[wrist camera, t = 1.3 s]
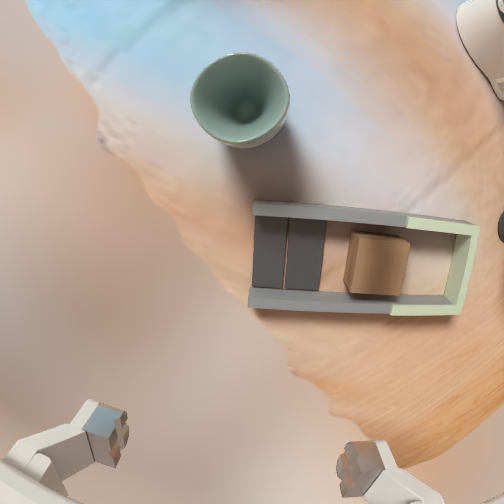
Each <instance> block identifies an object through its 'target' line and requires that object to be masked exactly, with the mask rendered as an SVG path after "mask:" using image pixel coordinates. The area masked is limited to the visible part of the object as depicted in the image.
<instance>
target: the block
mask: <svg viewBox="0 0 504 504" xmlns="http://www.w3.org/2000/svg"><path fill="white" fill-rule="evenodd" d="M410 245H411V244H410V243H409V242H407V241H406V240H404V239H402V238H401V237H399V236H395V235H387V234H378V233H370V232H361V231H352V230H351V235H350V242H349V248H348V255H347V261H346V267H345V273H344V279H343V281H344V282H345V284H346V286H347V288H348V289H349V291H350V293H363V294H378V295H395V296H400V292H401V288H402V283H403V279H404V275H405V270H406V265H407V260H408V255H409V250H410Z"/></svg>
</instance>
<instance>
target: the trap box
mask: <svg viewBox="0 0 504 504" xmlns="http://www.w3.org/2000/svg"><path fill="white" fill-rule="evenodd" d="M252 215H255V234H254V254H253V274H252V286H259V287H274V288H282V282H283V270H284V257H285V244H286V231H287V217H290V225H289V238H288V251H287V264H286V275H285V287H284V288H290V289H308V290H318V289H319V281H320V273H321V265H322V256H323V247H324V237H325V227H326V220H331V221H343V222H355V223H366V224H377V225H387V226H397V227H406V228H410V229H419V230H428V231H437V232H446V233H454V234H456V240H455V245H454V251H453V256H452V261H451V266H450V270H449V275H448V279H447V284H446V288H445V292H444V296H441V295H400V296H395V295H378V294H363V293H340V292H319V291H301V290H284V289H268V288H253V287H250V291H249V296H248V308H262V309H277V310H294V311H314V312H339V313H379V314H390V315H391V316H425V315H460V313H461V310H462V306H463V303H464V299H465V296H466V292H467V288H468V284H469V280H470V276H471V272H472V267H473V263H474V258H475V253H476V248H477V243H478V237H479V231H480V226H477V225H474V224H472V223H469V222H466V221H461V220H454V219H447V218H440V217H432V216H425V215H417V214H409V213H400V212H392V211H382V210H373V209H363V208H353V207H342V206H331V205H319V204H306V203H292V202H277V201H260V200H254V202H253V203H252Z"/></svg>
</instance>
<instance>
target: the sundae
mask: <svg viewBox="0 0 504 504" xmlns="http://www.w3.org/2000/svg"><path fill="white" fill-rule="evenodd" d="M498 233H499V237H500V239H501V240H502V241H503V242H504V212H503V214H502V215H501V217H500V219H499V223H498Z"/></svg>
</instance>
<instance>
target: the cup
mask: <svg viewBox="0 0 504 504" xmlns="http://www.w3.org/2000/svg"><path fill="white" fill-rule="evenodd" d="M190 102H191V108H192V111H193V114H194V116H195V118H196V120H197V122H198V123H199V125H200V126H201V127H202V128H203V129H204V130H205V132H206V133H208V134H209V135H210V136H211V137H213V138H214V139H216V140H218V141H220V142H222V143H224V144H226V145H228V146H231V147H235V148H252V147H256V146H259V145H261V144H263V143H265V142H267V141H269V140H270V139H271V138H273V137H274V136H275V135H276V134H277V133H278V132H279V130H280V129H281V128H282V126H283V124H284V123H285V121H286V118H287V114H288V111H289V107H290V94H289V90H288V86H287V84H286V81H285V79H284V77H283V76H282V74H281V73H280V72H279V70H278V69H277V68H276V67H275V66H274V65H273V64H272V63H270V62H269V61H267V60H266V59H265V58H263V57H260V56H258V55H256V54H251V53H234V54H229V55H226V56H223V57H221V58H219V59H217V60H215V61H214V62H212V63H211V64H209V65H208V66H207V67H206V68H204V69H203V71H202V72H201V73H200V74H199V75H198V77H197V78H196V80H195V82H194V83H193V86H192V89H191V94H190Z"/></svg>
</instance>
